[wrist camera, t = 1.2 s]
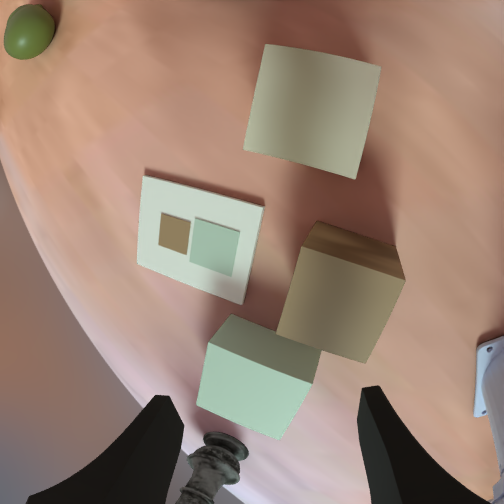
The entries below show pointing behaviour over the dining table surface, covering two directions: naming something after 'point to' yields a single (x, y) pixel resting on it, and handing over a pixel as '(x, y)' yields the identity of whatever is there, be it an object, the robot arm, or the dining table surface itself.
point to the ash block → (312, 108)
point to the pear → (28, 32)
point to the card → (198, 237)
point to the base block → (256, 376)
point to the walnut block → (341, 292)
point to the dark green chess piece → (213, 468)
